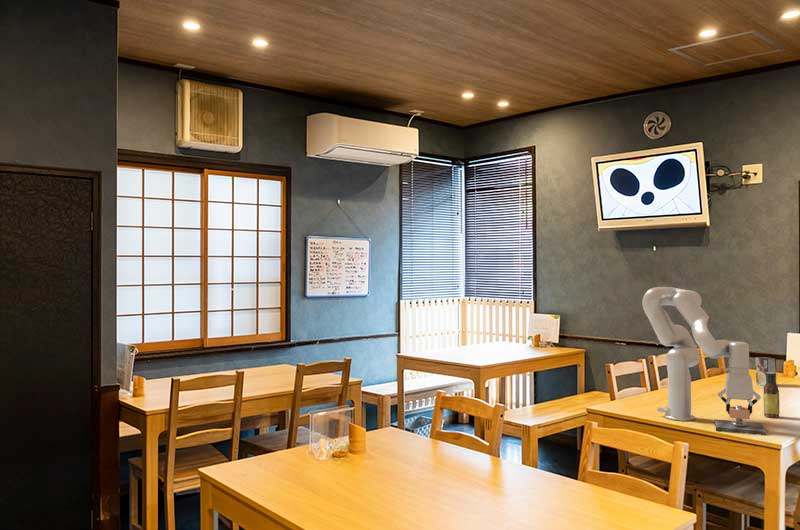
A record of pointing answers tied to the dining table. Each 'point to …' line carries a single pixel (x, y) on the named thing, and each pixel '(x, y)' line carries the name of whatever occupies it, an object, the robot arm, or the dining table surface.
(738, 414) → the square ring block
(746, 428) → the base plate
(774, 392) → the sauce bottle
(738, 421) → the metal post
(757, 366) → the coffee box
